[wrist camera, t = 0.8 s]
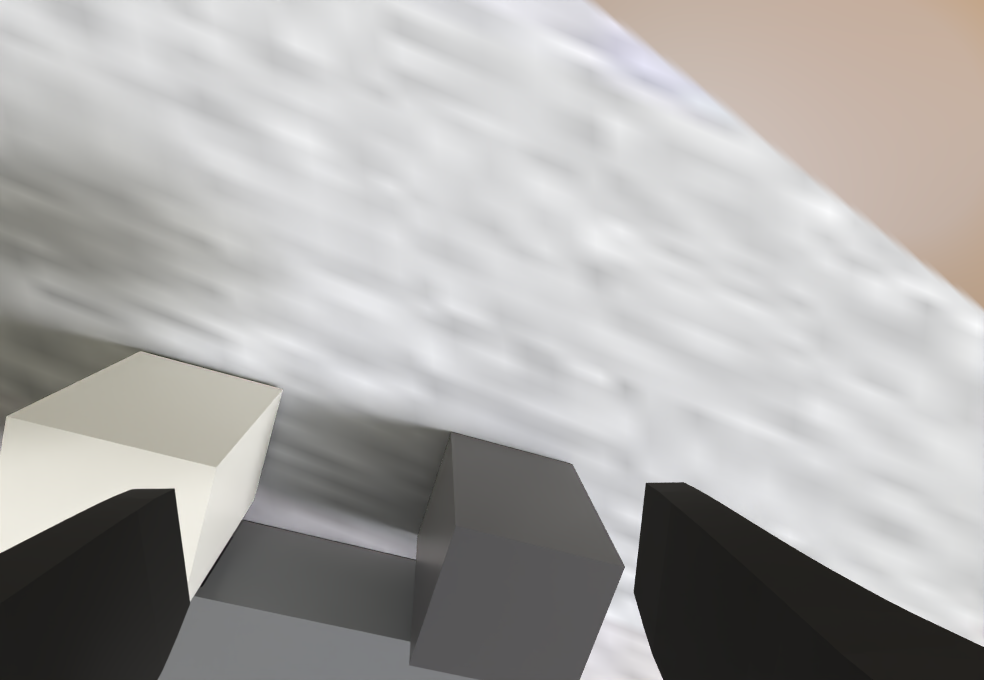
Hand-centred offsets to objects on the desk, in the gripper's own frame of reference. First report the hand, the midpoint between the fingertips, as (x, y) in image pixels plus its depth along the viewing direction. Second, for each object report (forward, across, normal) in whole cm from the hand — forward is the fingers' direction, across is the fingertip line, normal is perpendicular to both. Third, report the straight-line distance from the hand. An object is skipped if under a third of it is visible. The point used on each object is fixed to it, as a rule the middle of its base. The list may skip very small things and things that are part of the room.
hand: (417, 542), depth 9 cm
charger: (+10, +8, +4) cm, 13 cm away
